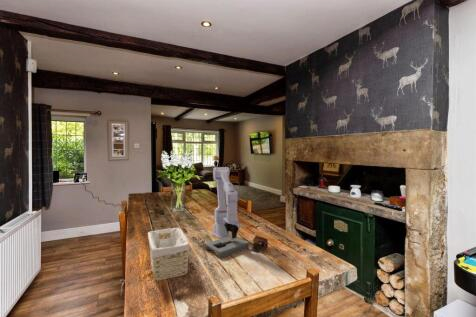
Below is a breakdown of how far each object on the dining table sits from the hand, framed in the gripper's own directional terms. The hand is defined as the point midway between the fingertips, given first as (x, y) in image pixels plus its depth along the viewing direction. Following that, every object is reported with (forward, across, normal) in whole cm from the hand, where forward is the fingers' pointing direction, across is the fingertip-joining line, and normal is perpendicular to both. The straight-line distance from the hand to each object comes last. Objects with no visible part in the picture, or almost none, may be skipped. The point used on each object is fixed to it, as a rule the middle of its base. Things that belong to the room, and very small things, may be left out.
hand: (231, 236), depth 135 cm
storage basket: (+7, +2, +37) cm, 38 cm away
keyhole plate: (+6, 0, +4) cm, 7 cm away
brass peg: (+6, 0, 0) cm, 6 cm away
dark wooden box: (+6, -12, -11) cm, 18 cm away
